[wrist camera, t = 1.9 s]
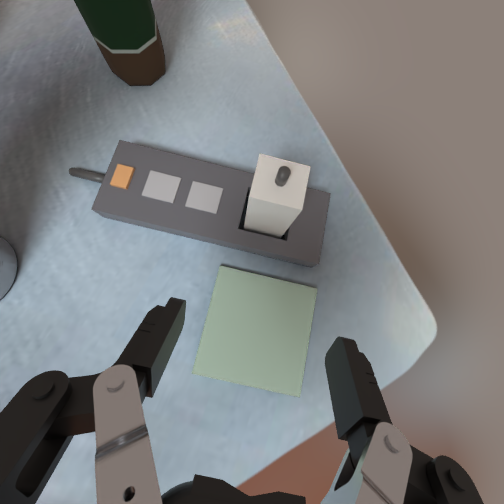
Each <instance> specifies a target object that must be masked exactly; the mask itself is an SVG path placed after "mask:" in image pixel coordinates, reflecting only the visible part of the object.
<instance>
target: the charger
mask: <svg viewBox="0 0 504 504" xmlns="http://www.w3.org/2000/svg"><path fill="white" fill-rule="evenodd" d="M310 167H311V166H307V165H303V164H299V163H295V162H291V161H287V160H283V159H280V158H276V157H272V156H268V155H264V154H259V158H258V162H257V166H256V170H255V174H254V178H253V182H252V186H251V190H250V194H249V199H248V205H247V211H246V217H245V224H244V230H245V231H249V232H253V233H257V234H261V235H265V236H269V237H273V238H277V239H280V238H281V237H282V235H283V234H284V233H285V232H286V230H287V229H288V228H289V226H290V225H291V224H292V223H293V221H294V220H295V219H296V217H297V216H298V215H299V214H300V212H301V211H302V209H303V204H304V198H305V193H306V188H307V183H308V177H309V172H310Z"/></svg>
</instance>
